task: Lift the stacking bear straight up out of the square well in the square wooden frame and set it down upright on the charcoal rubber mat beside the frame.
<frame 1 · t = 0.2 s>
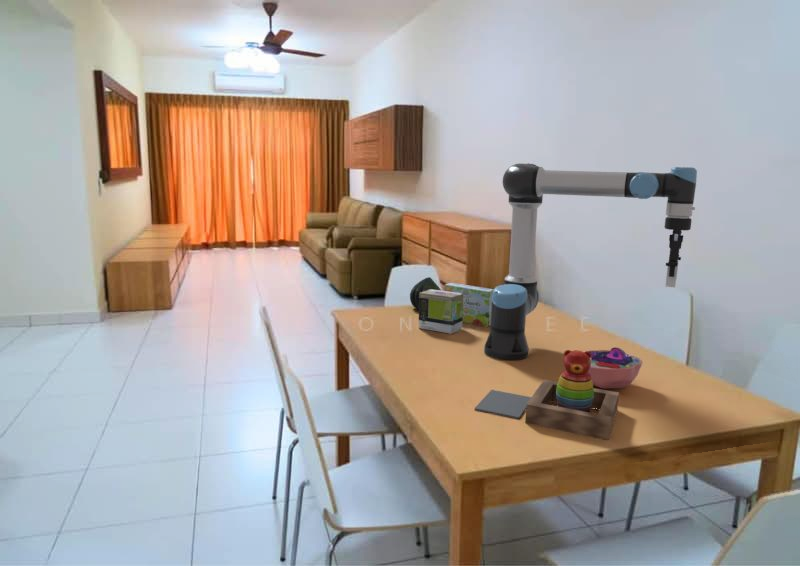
hand: (671, 283, 190), 28 cm above the table, tool pointing down, fingers open, 13 cm apart
square wooden frame: (572, 416, 154), on the table
squash: (425, 309, 265), on the table
rubber mat: (504, 404, 160), on the table
cell model: (606, 386, 176), on the table
snack box: (467, 322, 246), on the table
stacking bear: (572, 417, 154), resting in square wooden frame
tea box: (440, 329, 234), on the table
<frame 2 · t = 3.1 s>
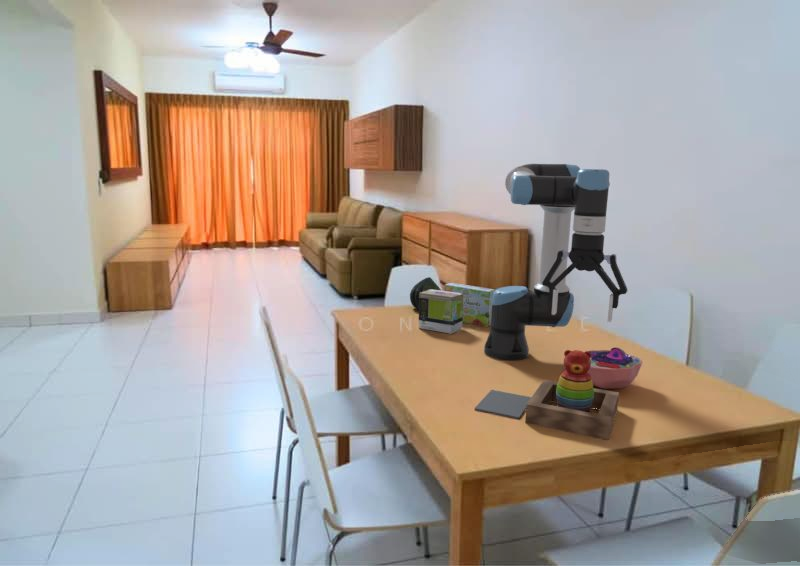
hand: (581, 317, 148), 27 cm above the table, tool pointing down, fingers open, 13 cm apart
nothing on the table moved.
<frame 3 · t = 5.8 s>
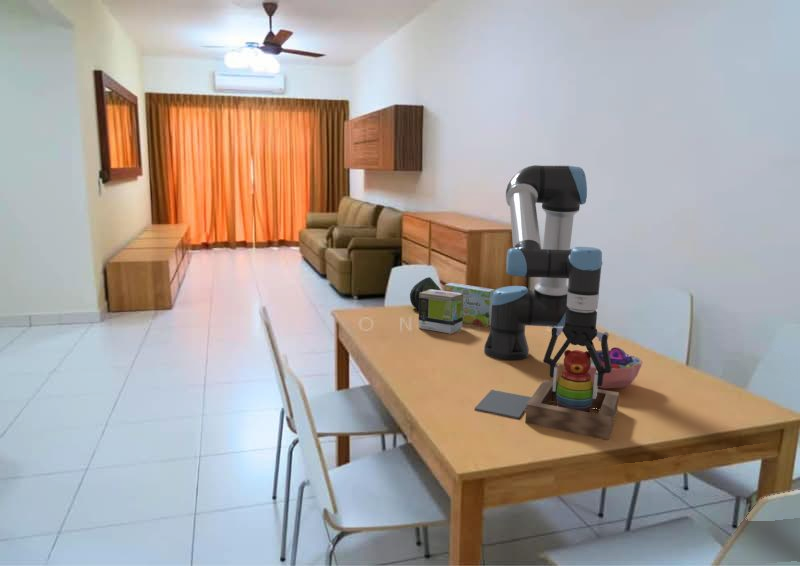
hand: (574, 393, 152), 6 cm above the table, tool pointing down, fingers closed on stacking bear, 9 cm apart
stacking bear: (572, 417, 154), resting in square wooden frame, touching gripper
everything else where it was.
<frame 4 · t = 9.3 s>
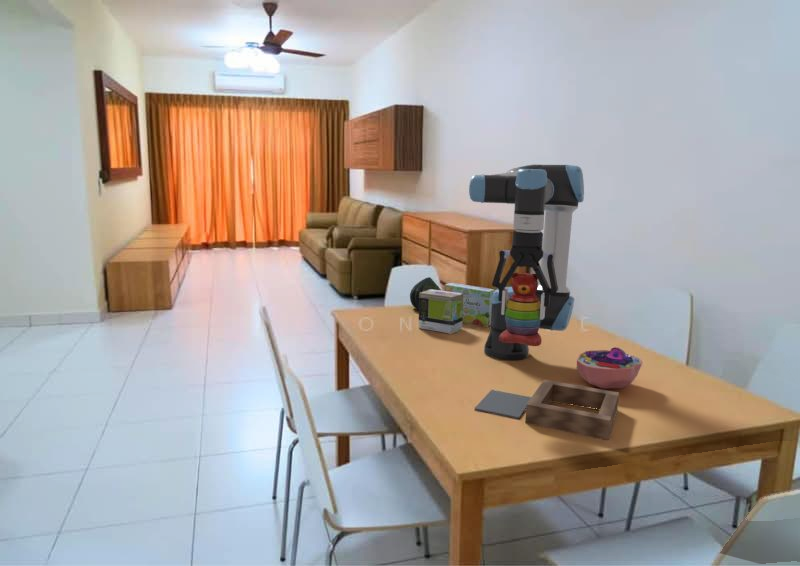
hand: (522, 315, 154), 25 cm above the table, tool pointing down, fingers closed on stacking bear, 9 cm apart
stacking bear: (521, 340, 156), point 19 cm above the table, touching gripper
everything else where it was.
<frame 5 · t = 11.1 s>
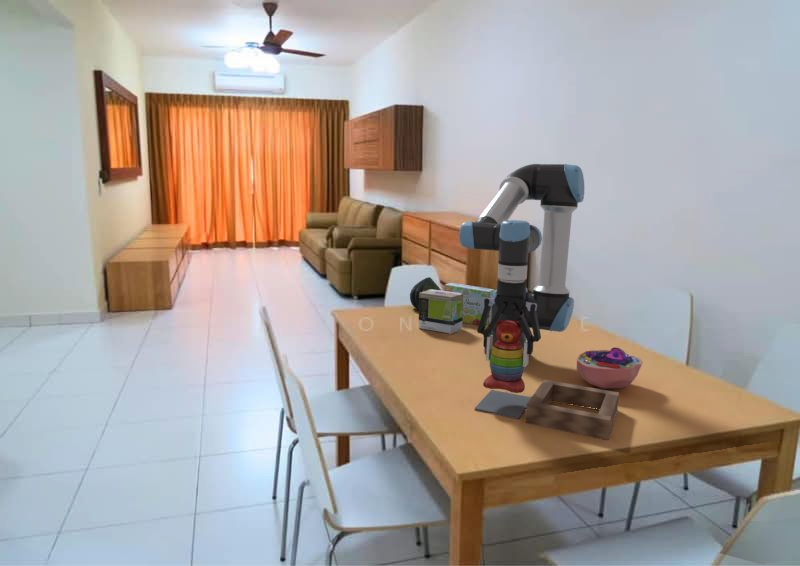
hand: (506, 362, 158), 12 cm above the table, tool pointing down, fingers closed on stacking bear, 9 cm apart
stacking bear: (505, 385, 159), point 5 cm above the table, touching gripper
everything else where it was.
when the fingers open (8 cm above the table, at t = 12.7 s): stacking bear drops 1 cm, resting on rubber mat.
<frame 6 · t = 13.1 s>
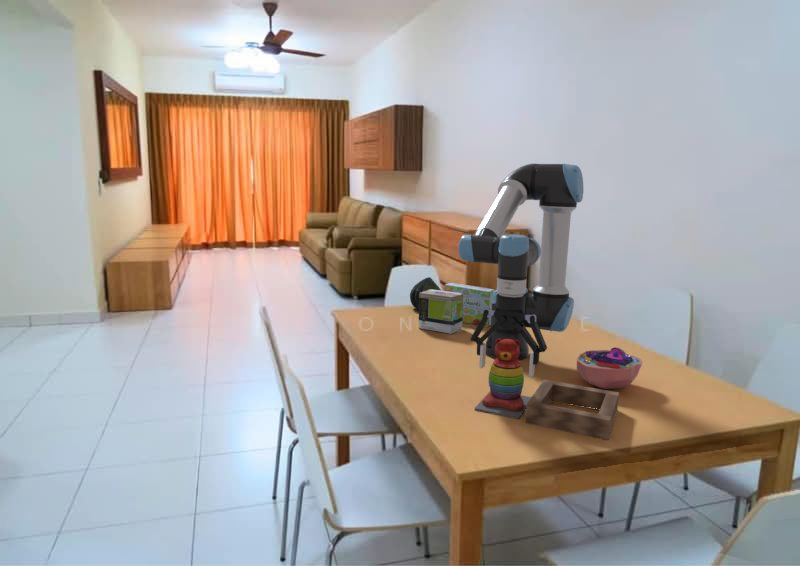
hand: (506, 371, 159), 9 cm above the table, tool pointing down, fingers open, 13 cm apart
stacking bear: (504, 403, 160), resting on rubber mat
everything else where it was.
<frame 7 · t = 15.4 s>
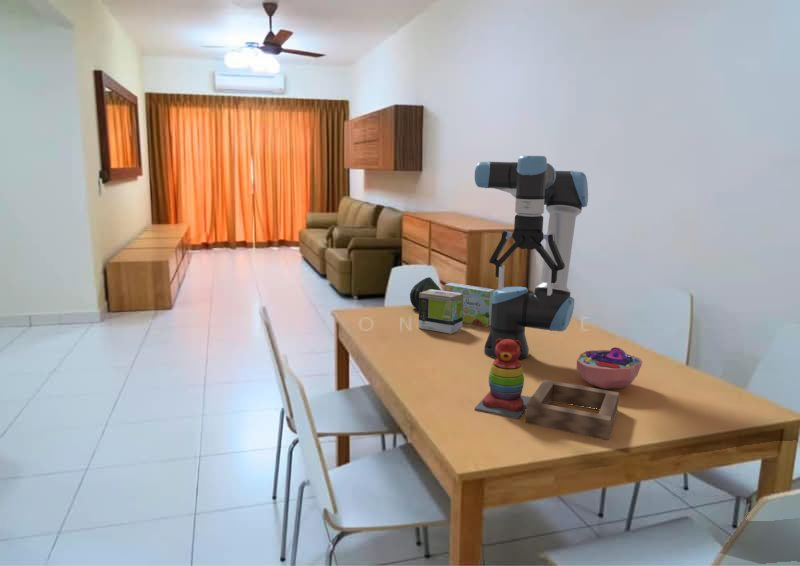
hand: (524, 291, 162), 30 cm above the table, tool pointing down, fingers open, 13 cm apart
nothing on the table moved.
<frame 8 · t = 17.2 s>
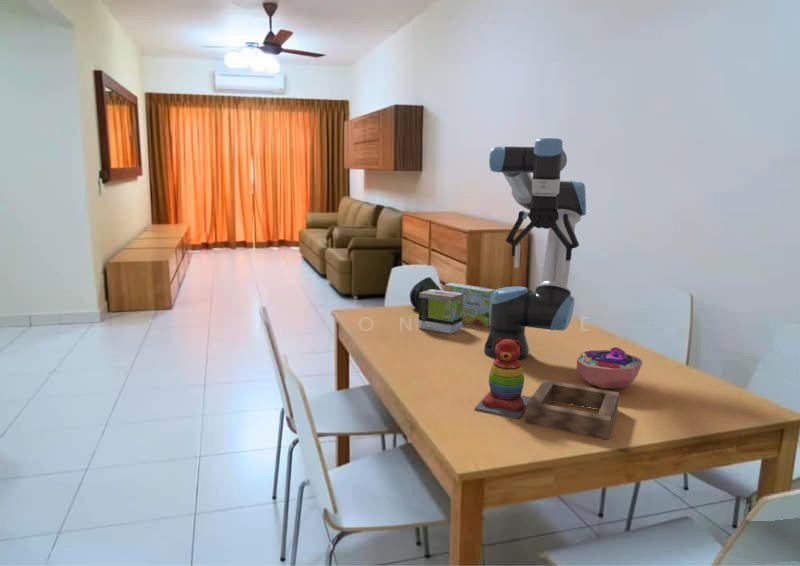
hand: (539, 269, 169), 35 cm above the table, tool pointing down, fingers open, 13 cm apart
nothing on the table moved.
at the end: stacking bear inside the target area on the rubber mat (0.0 cm from its centre), point 0.3 cm above the rubber mat's base; stacking bear tilted 0°; the gripper is holding nothing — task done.
